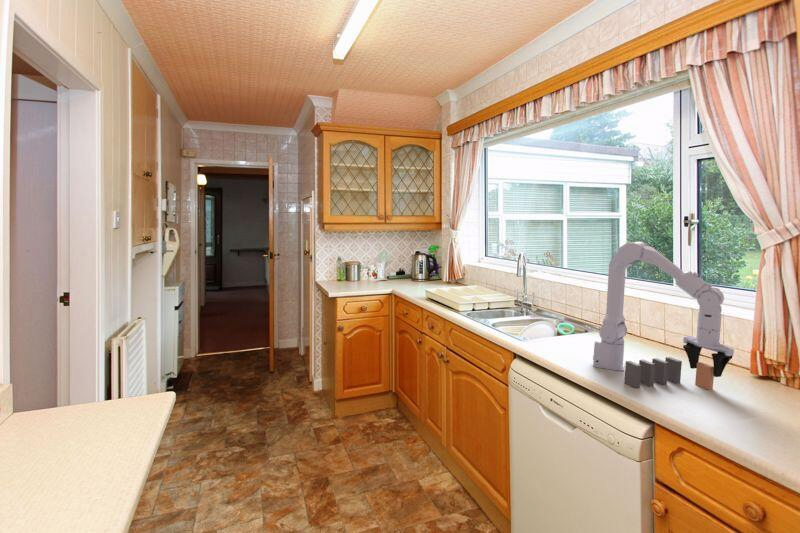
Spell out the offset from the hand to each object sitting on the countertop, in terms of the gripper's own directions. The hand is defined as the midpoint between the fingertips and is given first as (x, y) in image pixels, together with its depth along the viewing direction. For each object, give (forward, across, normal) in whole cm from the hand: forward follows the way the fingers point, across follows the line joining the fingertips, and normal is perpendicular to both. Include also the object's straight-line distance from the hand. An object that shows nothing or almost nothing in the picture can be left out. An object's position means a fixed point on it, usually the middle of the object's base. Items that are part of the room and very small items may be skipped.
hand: (705, 372), depth 133 cm
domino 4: (+5, +7, +5) cm, 10 cm away
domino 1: (+5, +7, +20) cm, 22 cm away
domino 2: (+5, +7, +15) cm, 17 cm away
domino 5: (+5, 0, 0) cm, 5 cm away
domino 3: (+5, +7, +10) cm, 13 cm away
